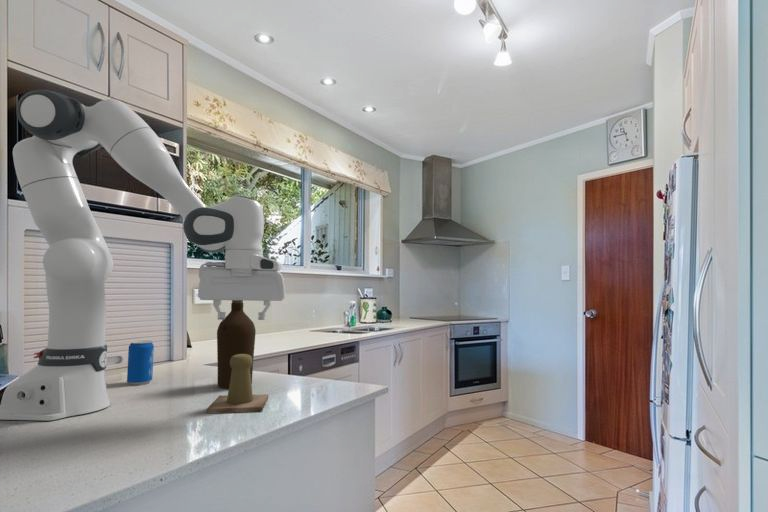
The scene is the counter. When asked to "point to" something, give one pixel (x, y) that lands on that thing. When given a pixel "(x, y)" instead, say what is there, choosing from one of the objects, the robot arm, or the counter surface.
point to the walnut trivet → (238, 405)
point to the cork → (240, 380)
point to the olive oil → (234, 341)
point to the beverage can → (140, 362)
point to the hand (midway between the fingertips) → (241, 319)
